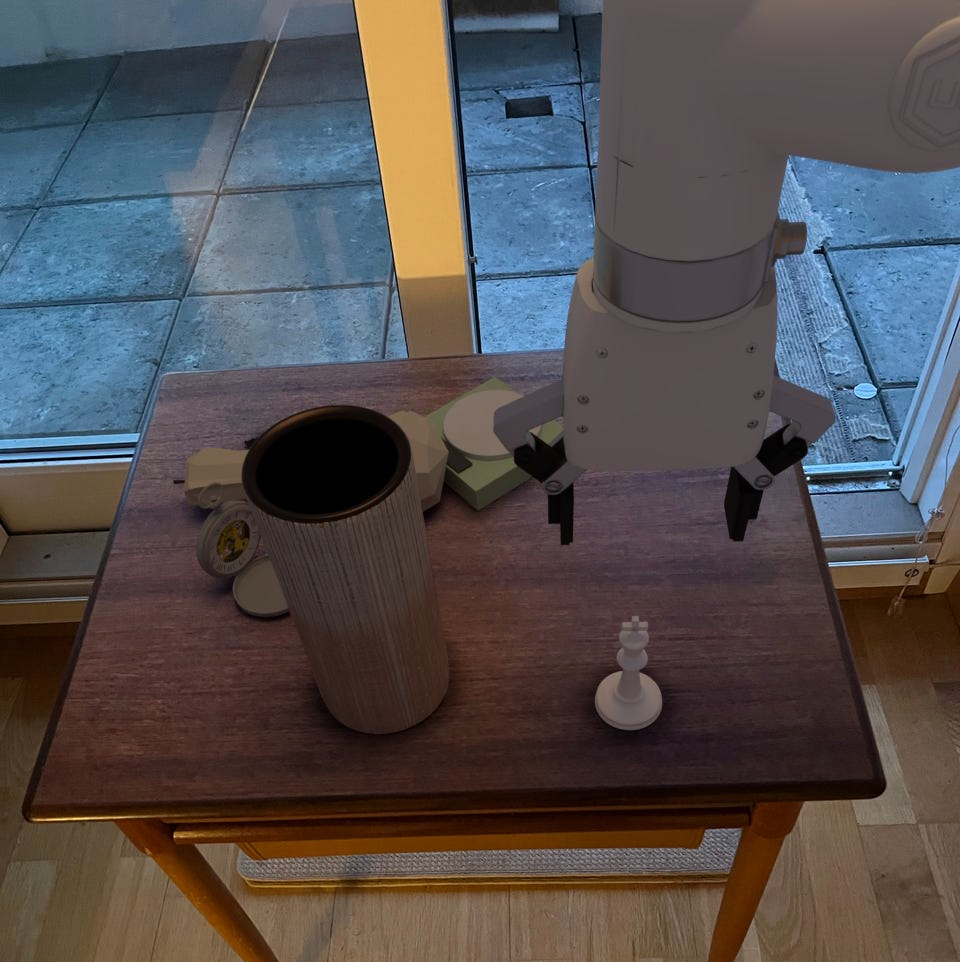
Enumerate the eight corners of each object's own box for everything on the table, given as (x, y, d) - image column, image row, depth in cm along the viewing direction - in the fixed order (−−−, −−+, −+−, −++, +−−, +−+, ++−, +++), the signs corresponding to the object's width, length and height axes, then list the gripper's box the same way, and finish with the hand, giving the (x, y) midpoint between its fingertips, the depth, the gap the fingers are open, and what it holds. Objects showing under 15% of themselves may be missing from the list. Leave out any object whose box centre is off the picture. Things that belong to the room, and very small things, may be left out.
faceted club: (452, 529, 81) (172, 547, 84) (459, 482, 87) (200, 500, 90) (438, 433, 75) (139, 456, 78) (447, 391, 82) (172, 413, 85)
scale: (496, 396, 92) (494, 371, 90) (572, 452, 87) (572, 427, 84) (405, 449, 89) (400, 424, 86) (477, 511, 83) (475, 486, 81)
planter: (316, 740, 70) (228, 527, 52) (326, 633, 76) (250, 408, 58) (451, 732, 70) (409, 514, 52) (450, 625, 76) (412, 396, 58)
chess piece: (593, 675, 72) (596, 590, 64) (659, 674, 71) (670, 588, 63) (596, 731, 69) (599, 649, 61) (664, 730, 68) (677, 648, 60)
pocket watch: (309, 619, 77) (278, 534, 69) (208, 623, 78) (166, 539, 70) (320, 545, 82) (293, 458, 74) (225, 549, 83) (188, 463, 75)
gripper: (864, 200, 43) (789, 477, 57) (484, 216, 44) (501, 484, 58) (903, 296, 39) (812, 572, 52) (480, 312, 40) (499, 577, 53)
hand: (648, 525), depth 55 cm, fingers open, 9 cm apart
